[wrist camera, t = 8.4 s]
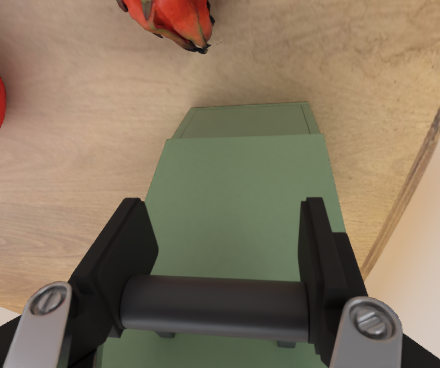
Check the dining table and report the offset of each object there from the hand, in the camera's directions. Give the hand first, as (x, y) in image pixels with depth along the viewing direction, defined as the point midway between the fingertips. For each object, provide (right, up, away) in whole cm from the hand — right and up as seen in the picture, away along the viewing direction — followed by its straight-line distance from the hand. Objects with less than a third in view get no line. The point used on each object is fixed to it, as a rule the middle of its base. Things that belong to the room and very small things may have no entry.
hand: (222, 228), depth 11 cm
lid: (+1, -1, +5) cm, 5 cm away
